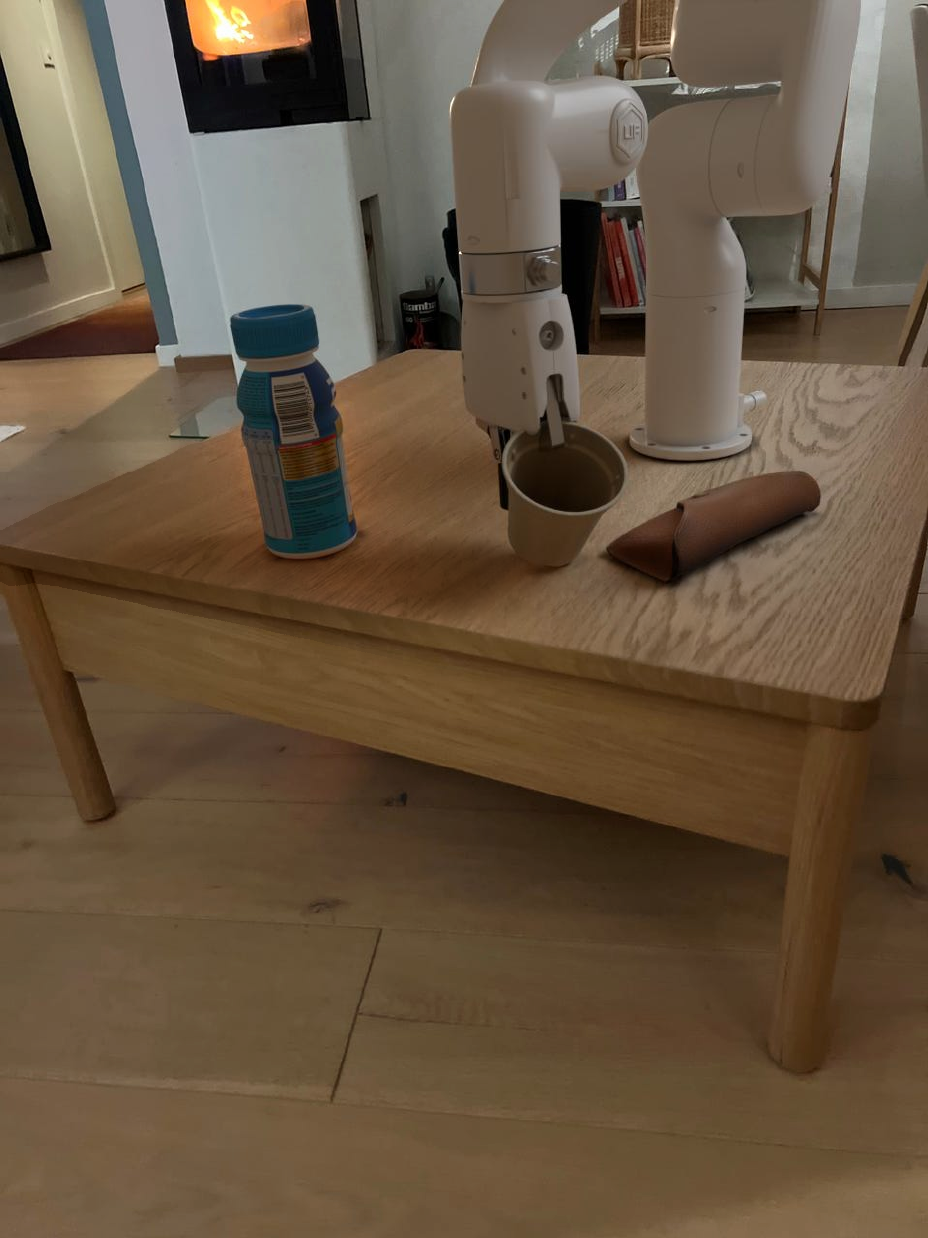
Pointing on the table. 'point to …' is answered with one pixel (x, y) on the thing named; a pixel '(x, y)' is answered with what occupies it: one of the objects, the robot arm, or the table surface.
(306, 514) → the beverage bottle
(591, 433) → the flower pot
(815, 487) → the sunglasses case
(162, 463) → the table surface
